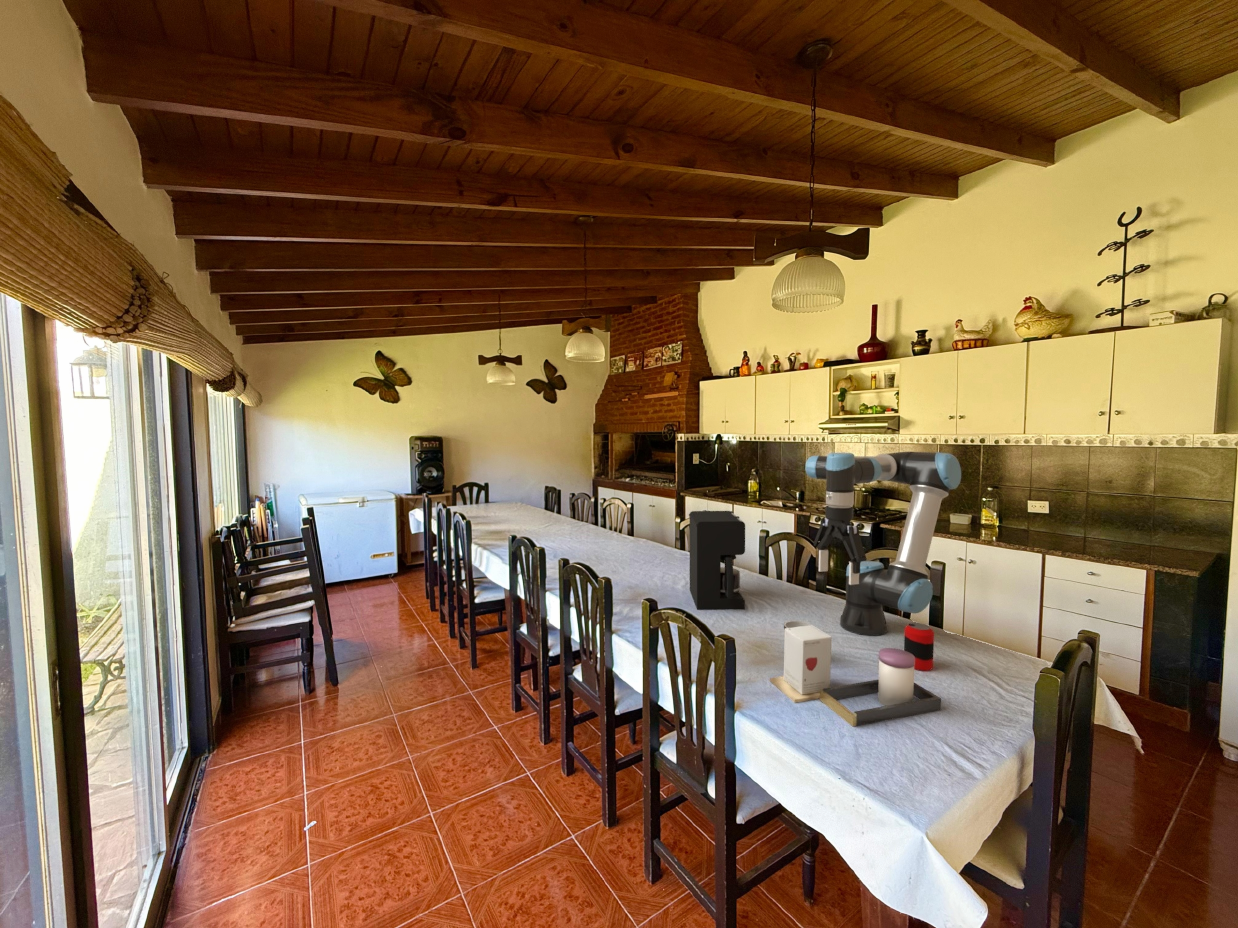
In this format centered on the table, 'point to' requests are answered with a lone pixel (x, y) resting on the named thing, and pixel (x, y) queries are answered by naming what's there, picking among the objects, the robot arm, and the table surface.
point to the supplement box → (807, 659)
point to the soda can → (920, 645)
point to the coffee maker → (715, 559)
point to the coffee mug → (795, 624)
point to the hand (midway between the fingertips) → (837, 577)
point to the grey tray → (878, 714)
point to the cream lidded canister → (895, 676)
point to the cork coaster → (792, 690)
